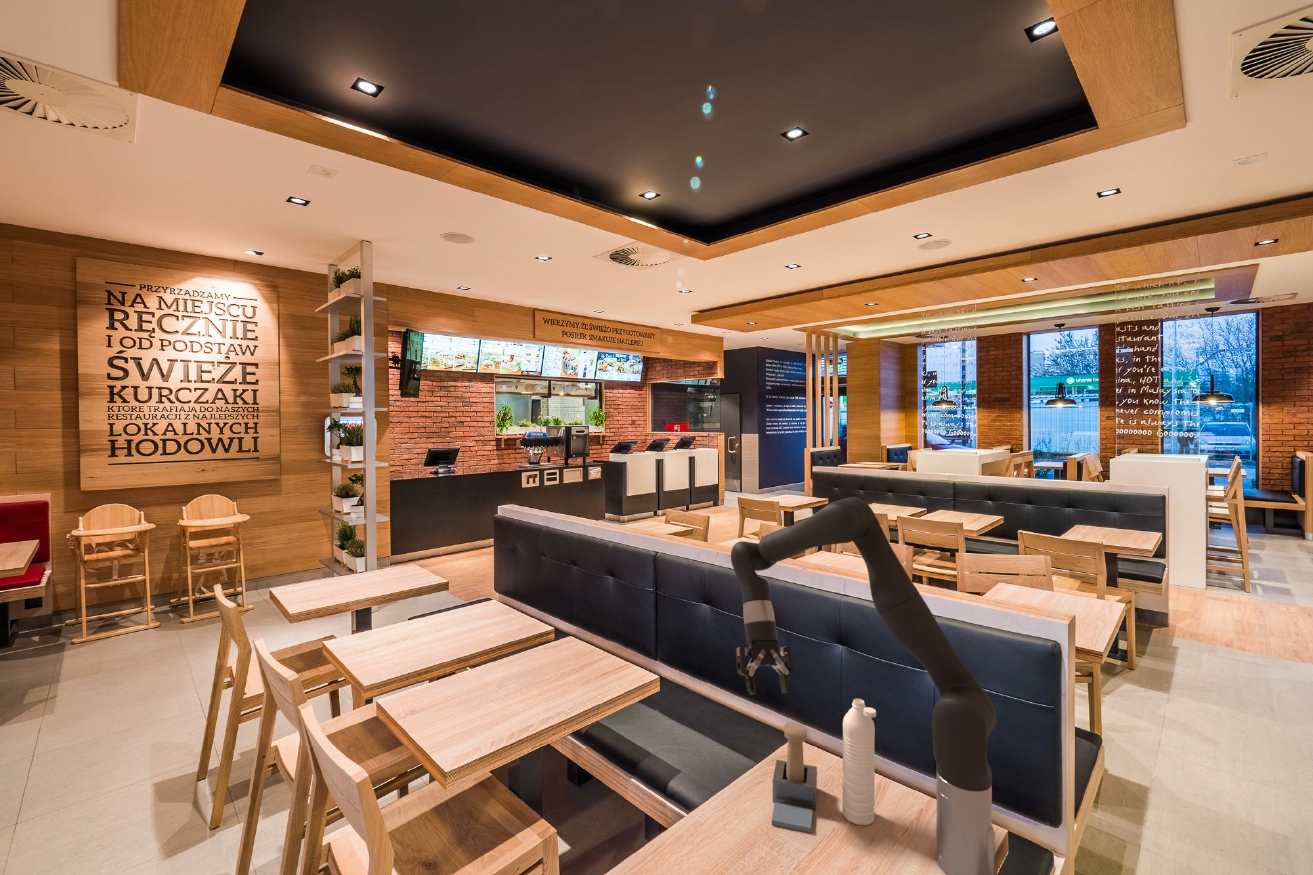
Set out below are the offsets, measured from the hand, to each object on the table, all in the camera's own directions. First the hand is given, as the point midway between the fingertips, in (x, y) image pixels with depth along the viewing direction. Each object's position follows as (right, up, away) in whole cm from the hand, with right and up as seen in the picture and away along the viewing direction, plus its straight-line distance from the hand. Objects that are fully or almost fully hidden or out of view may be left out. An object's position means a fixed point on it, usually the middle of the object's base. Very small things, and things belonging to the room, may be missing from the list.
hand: (769, 693), depth 132 cm
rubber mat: (+3, -22, -11) cm, 25 cm away
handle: (+5, -22, -3) cm, 23 cm away
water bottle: (+17, -22, -11) cm, 30 cm away
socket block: (+5, -22, -3) cm, 22 cm away
